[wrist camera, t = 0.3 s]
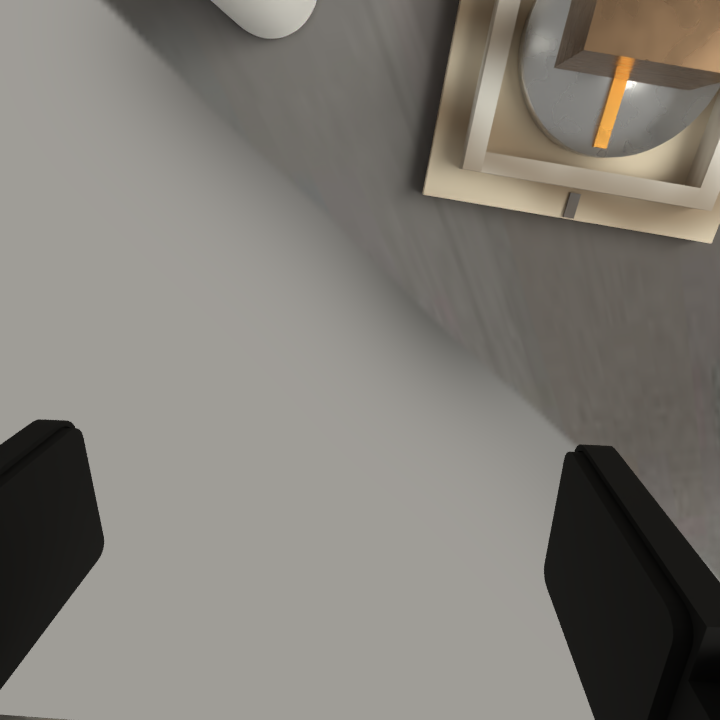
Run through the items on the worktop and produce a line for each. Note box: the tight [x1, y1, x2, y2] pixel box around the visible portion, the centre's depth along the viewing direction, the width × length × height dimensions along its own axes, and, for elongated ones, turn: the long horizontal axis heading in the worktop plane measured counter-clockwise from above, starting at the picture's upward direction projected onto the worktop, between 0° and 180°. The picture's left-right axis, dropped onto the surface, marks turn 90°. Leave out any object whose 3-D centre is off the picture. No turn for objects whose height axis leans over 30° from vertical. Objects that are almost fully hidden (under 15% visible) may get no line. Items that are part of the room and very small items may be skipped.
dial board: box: [422, 0, 720, 243], centre depth 31 cm, size 20×20×4 cm
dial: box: [518, 0, 720, 158], centre depth 28 cm, size 12×12×7 cm
